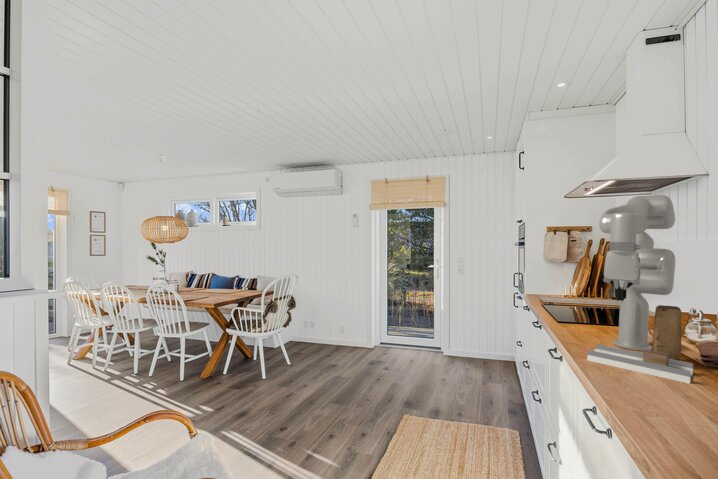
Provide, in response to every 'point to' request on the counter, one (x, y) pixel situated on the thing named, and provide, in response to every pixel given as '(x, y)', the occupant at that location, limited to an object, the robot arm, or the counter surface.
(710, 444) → the counter surface
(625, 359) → the board
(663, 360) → the walnut block
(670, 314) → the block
